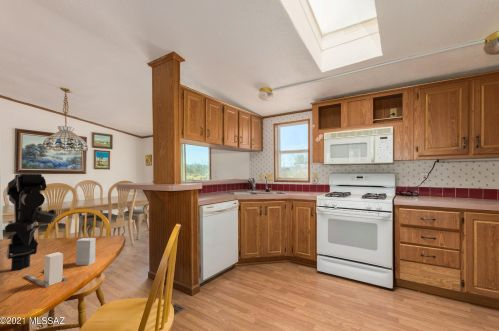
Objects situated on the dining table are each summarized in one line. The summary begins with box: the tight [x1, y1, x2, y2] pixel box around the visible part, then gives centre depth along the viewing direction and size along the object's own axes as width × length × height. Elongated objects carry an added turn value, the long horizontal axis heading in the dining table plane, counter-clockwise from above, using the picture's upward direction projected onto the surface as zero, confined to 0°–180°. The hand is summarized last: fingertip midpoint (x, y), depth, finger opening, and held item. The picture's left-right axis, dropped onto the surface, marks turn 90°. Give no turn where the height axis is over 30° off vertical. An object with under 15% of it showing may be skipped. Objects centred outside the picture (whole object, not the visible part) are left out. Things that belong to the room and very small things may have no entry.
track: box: [24, 268, 68, 289], centre depth 89 cm, size 17×7×2 cm, turn 62°
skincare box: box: [75, 237, 97, 266], centre depth 104 cm, size 6×4×12 cm
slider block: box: [43, 251, 64, 286], centre depth 86 cm, size 4×4×10 cm
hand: (27, 245), depth 91 cm, fingers closed
